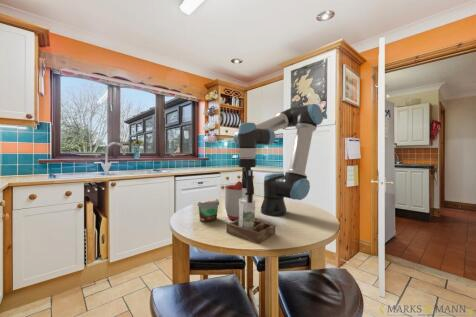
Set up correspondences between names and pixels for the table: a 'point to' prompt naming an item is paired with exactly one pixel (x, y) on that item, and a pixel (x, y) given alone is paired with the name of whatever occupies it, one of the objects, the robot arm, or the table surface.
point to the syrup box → (246, 215)
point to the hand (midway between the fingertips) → (247, 205)
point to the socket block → (252, 231)
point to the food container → (208, 211)
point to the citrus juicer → (233, 200)
